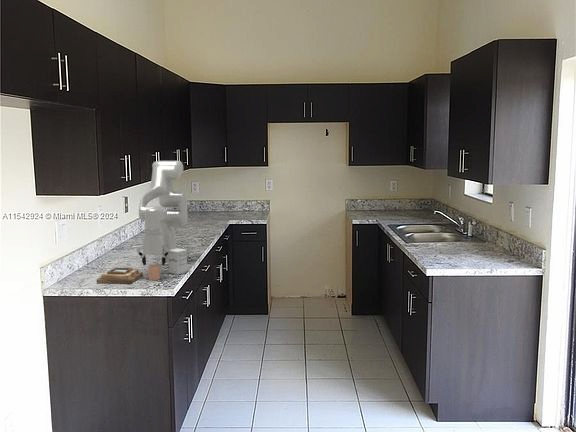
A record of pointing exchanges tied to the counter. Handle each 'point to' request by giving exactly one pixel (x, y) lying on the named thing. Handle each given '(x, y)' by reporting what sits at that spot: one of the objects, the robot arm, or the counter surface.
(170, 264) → the supplement box
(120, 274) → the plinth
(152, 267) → the pillar block
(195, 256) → the counter surface
